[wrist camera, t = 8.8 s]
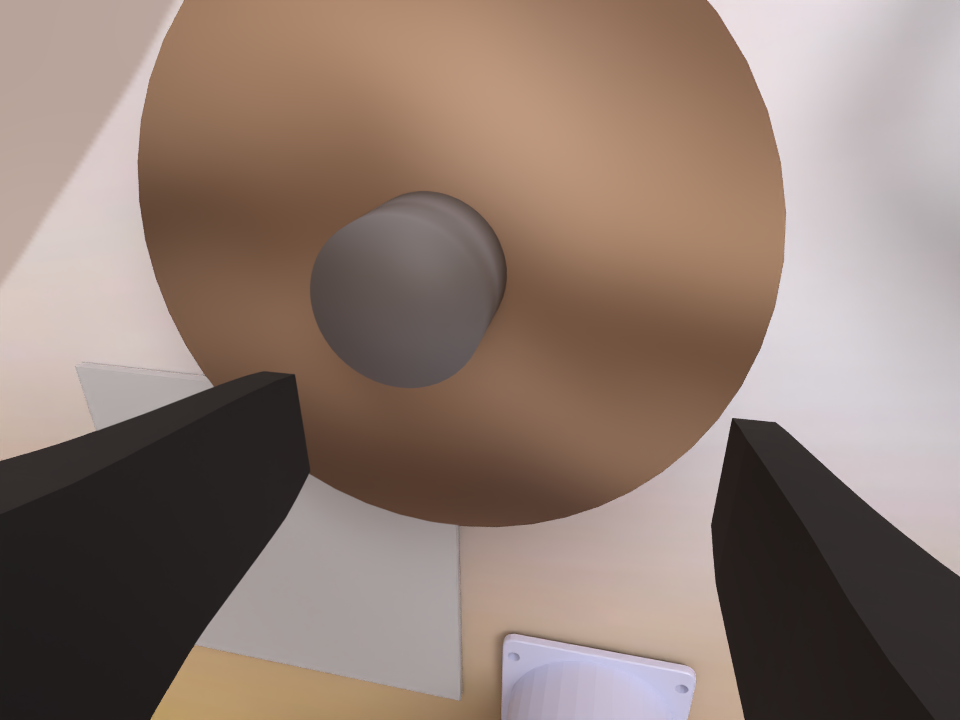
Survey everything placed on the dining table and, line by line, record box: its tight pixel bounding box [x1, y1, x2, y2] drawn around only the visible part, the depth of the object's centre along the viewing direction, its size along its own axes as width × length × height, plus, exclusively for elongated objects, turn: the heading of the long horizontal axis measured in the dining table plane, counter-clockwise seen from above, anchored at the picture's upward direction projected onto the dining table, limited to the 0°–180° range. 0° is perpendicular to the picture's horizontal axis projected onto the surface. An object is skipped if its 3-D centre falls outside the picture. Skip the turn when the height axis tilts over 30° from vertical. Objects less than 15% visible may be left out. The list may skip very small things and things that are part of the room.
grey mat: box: [75, 362, 462, 701], centre depth 27 cm, size 16×16×1 cm
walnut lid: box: [138, 0, 786, 527], centre depth 13 cm, size 15×15×3 cm
